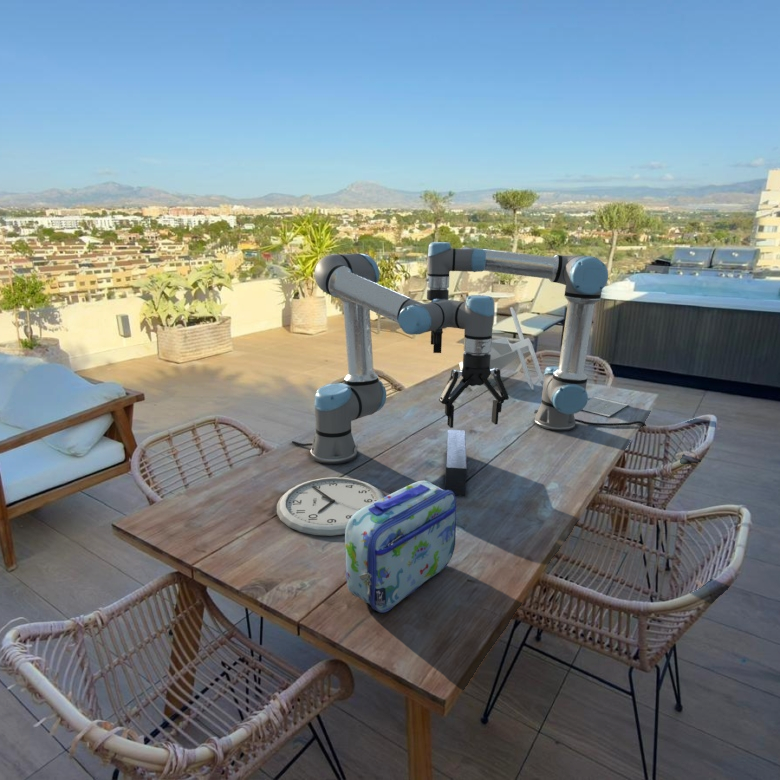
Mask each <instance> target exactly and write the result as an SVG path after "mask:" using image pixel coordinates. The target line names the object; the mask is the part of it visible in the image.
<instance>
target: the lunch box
mask: <svg viewBox="0 0 780 780" xmlns="http://www.w3.org/2000/svg"><path fill="white" fill-rule="evenodd" d="M456 531H457V499H456V496H455V494H454V493H453V492H452V491H449V490H445V489H442V488H440V487H439V486H437V485H435V484H433V483H432V482H430V481H428V480H418V481H416V482H413V483H410V484H409V485H406V486H405V487H402V488H400V489H398V490H396V491H394V492H392V493H390V494H388V495H385V497H384V498H382V499H380V500H378V501H376V502H374V503H372V504H370V505H368V506H366V507H364V508H362V509H360V510H358V511H357V512H355V513H354V514H353V515H352V517H351V518H350V520H349V522H348V524H347V527H346V531H345V534H344V552H345V577H346V578H345V580H346V586H347V589H348V592H349V593H350V594H352V595H354V596H356V597H357V598H359V599H361V600H363V602H365V603H367V604H368V605H370V607H371V608H372V609H373V610H375V611H376V612H378V613H380V614H382V613H383V614H385V613H387V612H389V611H391V609H393V608H394V607H395V606H396V605H397V604H400V602H401V601H402V600H404V599H406V597H409V596H410V595H411V594H412V593H414V592H415V591H416V590H417V589H418V588H420V587H421V586H422V585H423V584H424V583H425V582H427V581H428V580H430V579H432V578H433V577H434V576H436V575H437V574H439V573H441V572H442V571H443V570H445V568H446V567H447V566H448V564H449V563H450V561H451V560H452V557H453V554H454V551H455V548H456V547H455V546H456Z"/></svg>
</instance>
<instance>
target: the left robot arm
mask: <svg viewBox="0 0 780 780" xmlns="http://www.w3.org/2000/svg"><path fill="white" fill-rule="evenodd" d="M313 274H314V281H315V283H316V285H317V286H318V288H319V289H320V290H321V291H323V293H326V294H328V295H330V297H333V298H336V299H339V300H340V301H341V302H342V309H343V320H344V332H345V333H344V334H345V347H346V357H347V358H346V359H347V375H346V376H344V379H343V380H344V381H343V382H342V383H341V382H335V383H329V384H325V385H323V386H321V387H319V388H318V389H317V390H316V392H315V395H314V403H313V404H314V416H315V435H314V438H313V441H312V442H308V443H301V442H298V441H294V440H292V441H291V443H292V444H293V445H298V446H301V447H307V446H308V447H309V446H311V448H310V458H311V459H312V460H313V461H315V462H317V463H320V464H324V465H340V464H346V463H349V462H351V461H353V460H355V459H356V457H357V455H358V446H359V445H358V444H356V443H355V440H354V436H353V434H352V422H353V421H356V420H358V419H362V418H364V417H367V416H371V415H374V414H375V413H377V412H379V411H381V410H382V409H383V407H384V406H385V404H386V401H387V390H386V387H385V385H384V383H383V382H382V381H381V380H379V375H378V374H377V373H376V372H375V371H374V357H373V341H372V326H371V325H372V323H371V311H372V312H374V313H376V314H378V315H379V316H382V317H384V318H386V319H388V320H391V321H393V322H394V323H396V324H398V326H399V327H400V329H401V330H402V332H403V333H405V334H407V335H409V336H410V335H422V334H425V333H429V332H431V331H433V330H438V329H446V328H447V329H448V328H451V329H452V328H453V329H460V330H464V336H463V337H464V338H463V354H462V362H463V369H462V371H461V370H456V369H451V371H450V377H449V378H448V381H447V383H446V384H445V386H444V388H443V390H442V391H441V394H440V396H439V398H438V401H439V402H440V403H441V404H442V405H444V414H445V416H446V417H447V421H446V422H447V423H446V425H447V426H448V427H449V428H450V429H452V428H454V416H455V405H454V402H455V401H456V400H457V399H458V398H459V396H460V395H461V394H462V393H463V392H464V391H465V389H467V388H468V387H469V386H471V387H475V386H479V387H480V386H482V385H484V386H485V388H486V389H487V390H488V391H489V393H490V394H491V395H492V397H493V398H494V399H492V406H491V407H492V408H491V423H493V424H494V425H498V424H499V413H502V407H503V403H505V401H508V400H509V399H510V397H509V393H508V392H507V389H506V386H505V384H504V382H503V380H502V377H501V370H499V369H498V368H496V367H494V368H493V369H490V359H491V355H490V352H491V345H492V340H493V327H494V316H495V299H494V297H492V296H491V295H484V294H483V295H480V294H471V295H468V296H466V301H460V300H452V299H448V300H447V299H434V300H432V301H430V302H427V303H423V302H420V301H418V300H415V299H413V298H411V297H409V296H407V295H404V294H402V293H399V292H398V291H394V290H392V289H390V288H388V287H386V286H383V285H381V284H379V282H380V269H379V265H378V264H377V262H376V261H375V260H374V259H373V257H371V256H370V255H369V254H366V253H359V252H358V253H356V252H353V253H339V254H336V253H335V254H334V253H333V254H328V255H326V256H324V257H322V258H321V259H320V260H319V261H318V262H317V263H316V265H315V269H314V273H313ZM490 376H492V377H493V379H494V382H495V384H496V387H497V389H498V391H499V392H498V391H497V390H496V389H495V388H494V386H493V385H492V383H491V382H490V381H489V377H490ZM460 377H462V379H461V380H460V381H459V383H458V385H456V384H457V382H458V380H459V379H460ZM454 387H455V388H454ZM452 391H453V392H452ZM451 392H452V393H451ZM450 393H451V394H450Z"/></svg>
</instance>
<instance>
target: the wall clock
mask: <svg viewBox="0 0 780 780" xmlns="http://www.w3.org/2000/svg"><path fill="white" fill-rule="evenodd" d="M384 497H386V495H385V494H384V493H383V492H382V491H381V490H380V489H379V488H377V487H376V486H374V485H372V484H371V483H369V482H365V481H362V480H359V479H355V478H349V477H338V476H337V477H335V476H333V477H332V476H331V477H322V478H317V479H312V480H307V481H305V482H302V483H299V484H297V485H295V486H293V487H292V488H290V489H288V490H287V491H286V492H285V493H284V494H283V495H281V496H280V498H279V499H278V502H277V503H276V515H277V517H278V518H279V520H280V521H281V522H282V523H283V524H285V525H286V526H287V527H288V528H290V529H293V530H295V531H297V532H299V533H303V534H308V535H312V536H327V537H328V536H329V537H331V536H332V537H333V536H342V535H345V531H346V527H347V524H348V522H349V520H350V518H351V517H352V515H353V514H354V513H355V512H357V511H358V510H360V509H362V508H364V507H366V506H368V505H370V504H372V503H374V502H376V501H378V500H380V499H382V498H384Z"/></svg>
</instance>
